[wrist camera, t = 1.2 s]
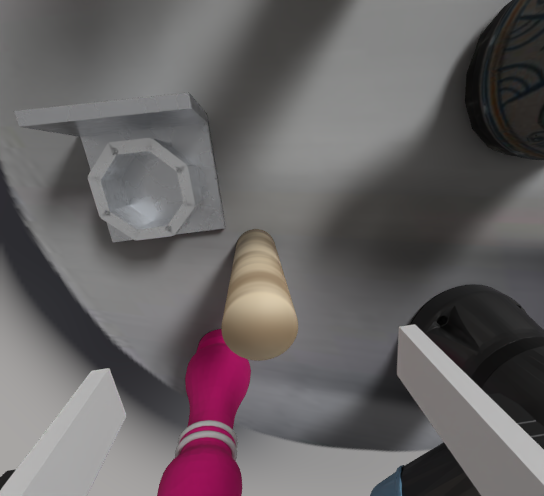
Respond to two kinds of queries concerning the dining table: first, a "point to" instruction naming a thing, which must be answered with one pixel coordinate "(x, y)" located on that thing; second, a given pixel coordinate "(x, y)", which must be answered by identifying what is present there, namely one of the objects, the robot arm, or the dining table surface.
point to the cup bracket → (143, 162)
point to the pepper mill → (209, 424)
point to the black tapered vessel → (510, 81)
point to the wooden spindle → (258, 301)
